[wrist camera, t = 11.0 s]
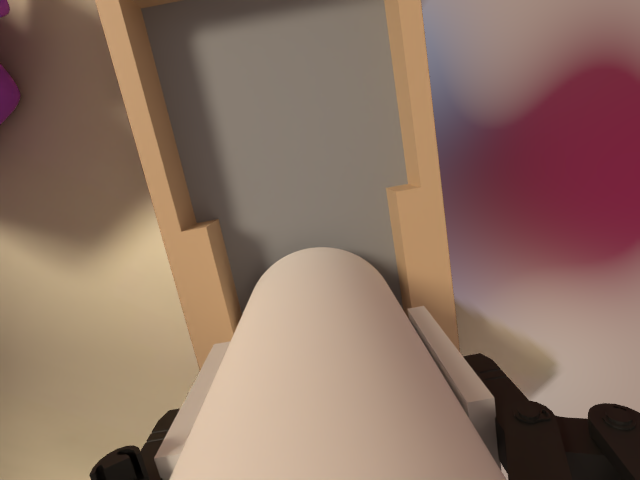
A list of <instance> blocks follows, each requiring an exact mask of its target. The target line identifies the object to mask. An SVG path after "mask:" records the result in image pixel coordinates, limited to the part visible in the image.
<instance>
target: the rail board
mask: <svg viewBox="0 0 640 480" xmlns="http://www.w3.org/2000/svg"><path fill="white" fill-rule="evenodd" d="M95 2H96V6H97V9H98V13H99V16H100V20H101V23H102V27H103V31H104V34H105V38H106V41H107V45H108V48H109V52H110V55H111V59H112V62H113V66H114V69H115V73H116V76H117V80H118V83H119V87H120V90H121V94H122V98H123V101H124V105H125V108H126V112H127V115H128V119H129V122H130V126H131V129H132V133H133V136H134V140H135V143H136V147H137V150H138V154H139V157H140V161H141V165H142V168H143V172H144V175H145V179H146V182H147V186H148V189H149V193H150V196H151V200H152V203H153V207H154V210H155V214H156V217H157V221H158V224H159V228H160V232H161V235H162V239H163V242H164V246H165V249H166V253H167V256H168V260H169V263H170V267H171V270H172V274H173V277H174V281H175V284H176V288H177V291H178V295H179V299H180V302H181V306H182V309H183V313H184V316H185V320H186V323H187V327H188V330H189V334H190V337H191V341H192V344H193V348H194V351H195V355H196V358H197V362H198V366H199V369H200V370H201V368H202V366H203V364H204V362H205V360H206V358H207V356H208V355H209V353H210V351H211V349H212V347H213V345H214V344H218V343H223V342H229V341H230V342H231V339H232V337H233V335H234V332H235V330H236V328H237V326H238V323H239V321H240V319H241V317H242V314H243V312H244V310H245V308H246V305H247V303H248V301H249V299H250V296H251V294H252V292H253V290H254V288H255V286H256V284H257V282H258V281H259V279H260V278H261V276H262V275H263V274H264V273H265V272H266V271H267V270H268V269H269V268H270V267H271V266H272V265H273V264H274V263H276V262H277V261H278V260H280V259H281V258H283V257H285V256H287V255H289V254H291V253H294V252H296V251H300V250H303V249H308V248H315V247H329V248H337V249H341V250H345V251H348V252H351V253H353V254H355V255H357V256H359V257H361V258H363V259H364V260H366V261H367V262H368V263H370V264H371V265H372V266H373V267H374V268H375V269H376V270H377V271H378V272H379V273H380V274H381V275H382V277H383V278H384V280H385V281H386V283H387V284H388V286H389V288H390V289H391V291H392V293H393V294H394V296H395V297H396V299H397V301H398V302H399V304H400V306H401V307H402V309H403V311H404V312H405V314H406V316H407V317H408V319H409V316H408V309H409V308H415V307H420V306H425V308H426V309H427V310H428V312H429V313H430V314H431V316H432V317H433V318H434V319H435V321H436V322H437V323H438V325H439V326H440V327H441V329H442V330H443V331H444V333H445V334H446V335H447V336H448V338H449V339H450V340H451V342H452V343H453V344H454V346H455V347H456V348H457V349H458V351H459V352H460V348H459V339H458V330H457V321H456V312H455V303H454V294H453V285H452V276H451V268H450V258H449V250H448V240H447V231H446V222H445V214H444V205H443V195H442V186H441V178H440V168H439V159H438V150H437V141H436V132H435V124H434V114H433V105H432V96H431V87H430V78H429V69H428V60H427V51H426V43H425V33H424V24H423V15H422V6H421V0H95Z"/></svg>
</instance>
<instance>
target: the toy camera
mask: <svg viewBox="0 0 640 480" xmlns="http://www.w3.org/2000/svg"><path fill="white" fill-rule="evenodd" d="M8 13H9V4H8V2H7V0H0V17H3V16H5V15H7V14H8ZM19 100H20V92H19V89H18V87H17V85H16V83H15V82H14V80H13V79H12V78H11V76H10V75H9V73H8V72H7V71H6V70H5V69H4V67H3V66H2V65H1V64H0V124H1V123H2V122H3V121H5V119H6V118H7V117H8V116H9V115H10V114H11V113H12V112H13V111H14V109H15V108H16V106H17V105H18V103H19Z"/></svg>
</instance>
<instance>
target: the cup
mask: <svg viewBox="0 0 640 480" xmlns="http://www.w3.org/2000/svg"><path fill="white" fill-rule="evenodd" d="M169 480H506V478H505V477H504V475H503V474H502V472H501V470H500V469H499V467H498V465H497V464H496V462H495V460H494V459H493V457H492V455H491V454H490V452H489V450H488V449H487V447H486V446H485V444H484V442H483V441H482V439H481V437H480V436H479V434H478V432H477V431H476V429H475V427H474V426H473V424H472V422H471V421H470V419H469V418H468V416H467V414H466V413H465V411H464V409H463V408H462V406H461V404H460V403H459V401H458V399H457V398H456V396H455V395H454V393H453V391H452V390H451V388H450V386H449V385H448V383H447V381H446V380H445V378H444V376H443V375H442V373H441V371H440V370H439V368H438V367H437V365H436V363H435V362H434V360H433V358H432V357H431V355H430V353H429V352H428V350H427V348H426V347H425V345H424V344H423V342H422V340H421V339H420V337H419V335H418V334H417V332H416V330H415V329H414V327H413V325H412V324H411V322H410V321H409V319H408V317H407V316H406V314H405V312H404V311H403V309H402V307H401V306H400V304H399V302H398V301H397V299H396V297H395V296H394V294H393V293H392V291H391V289H390V288H389V286H388V284H387V283H386V281H385V280H384V278H383V277H382V275H381V274H380V273H379V272H378V271H377V270H376V269H375V268H374V267H373V266H372V265H371V264H370V263H368V262H367V261H366V260H364V259H363V258H361V257H359V256H357V255H355V254H353V253H351V252H348V251H345V250H341V249H337V248H329V247H315V248H308V249H303V250H300V251H296V252H294V253H291V254H289V255H287V256H285V257H283V258H281V259H280V260H278V261H277V262H276V263H274V264H273V265H272V266H271V267H270V268H269V269H268V270H267V271H266V272H265V273H264V274H263V275H262V276H261V278H260V279H259V281H258V282H257V284H256V286H255V288H254V290H253V292H252V294H251V296H250V299H249V301H248V303H247V305H246V308H245V310H244V312H243V314H242V317H241V319H240V321H239V323H238V326H237V328H236V330H235V332H234V335H233V337H232V339H231V342H230V344H229V346H228V348H227V351H226V353H225V355H224V357H223V360H222V362H221V364H220V366H219V369H218V371H217V373H216V375H215V378H214V380H213V382H212V384H211V387H210V389H209V391H208V394H207V396H206V398H205V400H204V403H203V405H202V407H201V409H200V412H199V414H198V416H197V418H196V421H195V423H194V425H193V427H192V430H191V432H190V434H189V436H188V439H187V441H186V443H185V446H184V448H183V450H182V452H181V455H180V457H179V459H178V461H177V464H176V466H175V468H174V470H173V473H172V475H171V477H170V479H169Z"/></svg>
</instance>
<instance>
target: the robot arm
mask: <svg viewBox="0 0 640 480" xmlns="http://www.w3.org/2000/svg"><path fill="white" fill-rule="evenodd" d="M408 316H409V321H410V322H411V324H412V325H413V327H414V329H415V330H416V332H417V334H418V335H419V337H420V339H421V340H422V342H423V344H424V345H425V347H426V348H427V350H428V352H429V353H430V355H431V357H432V358H433V360H434V362H435V363H436V365H437V367H438V368H439V370H440V371H441V373H442V375H443V376H444V378H445V380H446V381H447V383H448V385H449V386H450V388H451V390H452V391H453V393H454V395H455V396H456V398H457V399H458V401H459V403H460V404H461V406H462V408H463V409H464V411H465V413H466V414H467V416H468V418H469V419H470V421H471V422H472V424H473V426H474V427H475V429H476V431H477V432H478V434H479V436H480V437H481V439H482V441H483V442H484V444H485V446H486V447H487V449H488V450H489V452H490V454H491V455H492V457H493V459H494V460H495V462H496V464H497V465H498V467H499V469H500V470H501V464H502V465H503V467H504V469H505V470H506V472H507V473H508V479H509V480H640V413H639V412H637V411H635V410H632V409H630V408H628V407H625V406H621V405H617V404H606V403H605V404H598V405H595V406H593V407H592V408H590V409H589V412H588V419H581V418H565V417H558V416H555V415H554V414H553V412H552V411H551V410H549V409H548V408H547V407H546V406H544V405H541V404H539V403H537V402H533V401H529V400H528V399H527V398H526V397H525V396H524V394H523V393H522V392H521V391H520V390H519V389H518V388H517V387H516V386H515V384H514V383H513V382H512V381H511V380H510V379H509V378H508V377H507V376H506V374H505V373H504V372H503V371H502V370H500V368H499V367H498V366H497V364H496V363H495V362H494V361H493V360H492V359H490V358H488V357H486V356H484V355H482V354H474V355H469V356H462V355H461V353H460V352H459V351H458V349H457V348H456V347H455V346H454V344H453V343H452V342H451V340H450V339H449V338H448V336H447V335H446V334H445V333H444V331H443V330H442V329H441V327H440V326H439V325H438V323H437V322H436V321H435V319H434V318H433V317H432V316H431V314H430V313H429V312H428V310H427V309H426V308H425V306H420V307H415V308H409V309H408ZM229 344H230V341H229V342H223V343H218V344H214V345H213V347H212V349H211V351H210V353H209V355H208V356H207V358H206V360H205V362H204V364H203V366H202V368H201V370H200V372H199V374H198V375H197V377H196V379H195V381H194V383H193V385H192V387H191V389H190V391H189V393H188V395H187V396H186V398H185V400H184V402H183V404H182V406H181V408H180V409H175V410H169V411H168V412H167V413H166V414H165V415H164V416H163V417H162V418H161V419H160V420H159V421H158V422H157V424H156V426H155V427H154V429H153V431H152V434H150V436H149V438H148V439H147V443H145V445H144V446H143V448H142V450H141V451H140V450H139V448H138V447H136V446H125V447H122V448H119V449H116V450H114V451H113V452H111V453H109V454H107V455H106V456H105V457H103V458H102V459H101V460H100V461H99V462H98V463H97V464H96V465H95V466H94V467H93V469H92V471H91V473H90V478H91V480H169V479H170V477H171V475H172V473H173V470H174V468H175V466H176V464H177V461H178V459H179V457H180V455H181V452H182V450H183V448H184V446H185V443H186V441H187V439H188V436H189V434H190V432H191V430H192V427H193V425H194V423H195V421H196V418H197V416H198V414H199V412H200V409H201V407H202V405H203V403H204V400H205V398H206V396H207V394H208V391H209V389H210V387H211V384H212V382H213V380H214V378H215V375H216V373H217V371H218V369H219V366H220V364H221V362H222V360H223V357H224V355H225V353H226V351H227V348H228V346H229ZM500 462H501V463H500Z"/></svg>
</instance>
